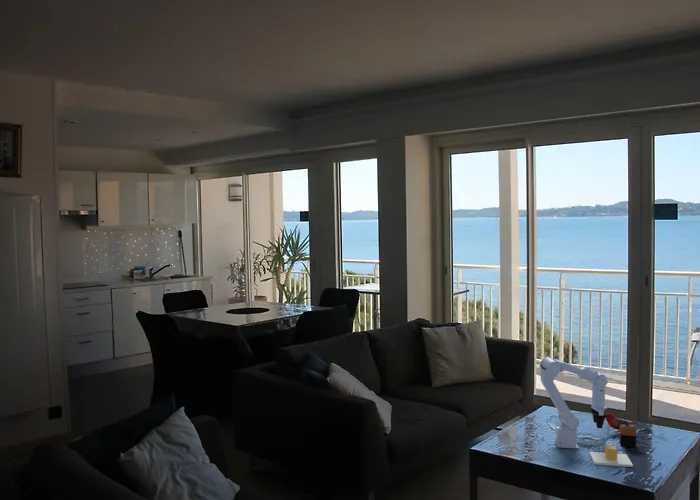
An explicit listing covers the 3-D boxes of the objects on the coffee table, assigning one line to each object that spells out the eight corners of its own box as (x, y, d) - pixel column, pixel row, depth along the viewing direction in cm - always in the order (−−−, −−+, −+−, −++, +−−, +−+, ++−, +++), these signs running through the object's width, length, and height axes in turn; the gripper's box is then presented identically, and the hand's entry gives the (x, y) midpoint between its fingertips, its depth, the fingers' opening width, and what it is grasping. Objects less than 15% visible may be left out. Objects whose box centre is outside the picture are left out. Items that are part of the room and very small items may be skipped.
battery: (636, 447, 296) (636, 427, 295) (620, 446, 298) (621, 426, 297) (634, 444, 300) (635, 424, 300) (619, 443, 302) (619, 422, 301)
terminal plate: (594, 464, 277) (594, 454, 277) (589, 453, 289) (589, 444, 289) (632, 467, 274) (633, 457, 274) (626, 456, 286) (626, 446, 286)
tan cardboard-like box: (606, 459, 280) (606, 448, 280) (604, 455, 284) (604, 445, 284) (617, 460, 279) (617, 449, 279) (614, 456, 283) (615, 445, 283)
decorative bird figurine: (602, 430, 318) (602, 411, 317) (638, 432, 316) (639, 413, 315) (603, 432, 315) (604, 413, 315) (640, 434, 313) (641, 415, 312)
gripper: (610, 402, 291) (609, 431, 292) (604, 393, 305) (603, 420, 306) (594, 402, 293) (594, 430, 293) (588, 392, 307) (588, 419, 308)
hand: (597, 425), depth 300 cm, fingers open, 7 cm apart
